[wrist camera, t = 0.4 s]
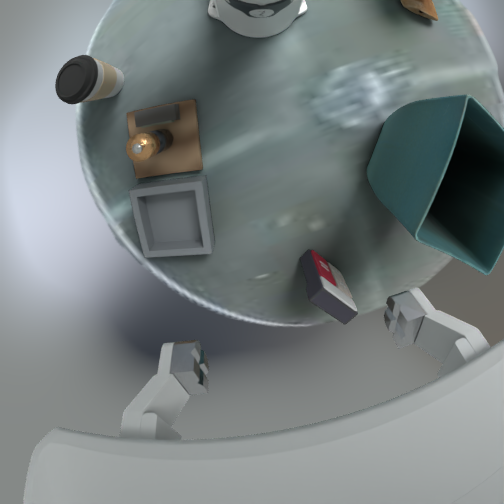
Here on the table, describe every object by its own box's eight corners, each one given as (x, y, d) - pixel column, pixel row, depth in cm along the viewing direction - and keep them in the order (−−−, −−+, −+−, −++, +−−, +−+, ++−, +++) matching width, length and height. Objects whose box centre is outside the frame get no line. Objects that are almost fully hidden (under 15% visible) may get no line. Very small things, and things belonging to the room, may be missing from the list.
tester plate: (129, 112, 45) (120, 113, 41) (195, 99, 45) (190, 98, 41) (138, 177, 52) (130, 182, 48) (202, 168, 52) (198, 173, 48)
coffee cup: (97, 63, 39) (56, 55, 26) (133, 63, 40) (96, 51, 27) (89, 102, 43) (46, 105, 30) (123, 104, 44) (84, 105, 31)
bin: (138, 184, 53) (128, 190, 48) (206, 175, 52) (201, 181, 48) (151, 246, 60) (144, 257, 56) (215, 242, 59) (212, 253, 55)
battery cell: (150, 131, 46) (122, 137, 35) (172, 127, 46) (147, 132, 35) (153, 152, 48) (126, 165, 37) (174, 148, 48) (151, 160, 37)
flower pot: (375, 93, 43) (469, 90, 18) (443, 136, 46) (535, 168, 21) (343, 178, 52) (412, 239, 27) (412, 211, 55) (488, 276, 30)
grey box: (342, 271, 63) (361, 312, 50) (329, 283, 65) (345, 325, 51) (310, 246, 60) (325, 285, 47) (297, 259, 61) (308, 301, 48)
